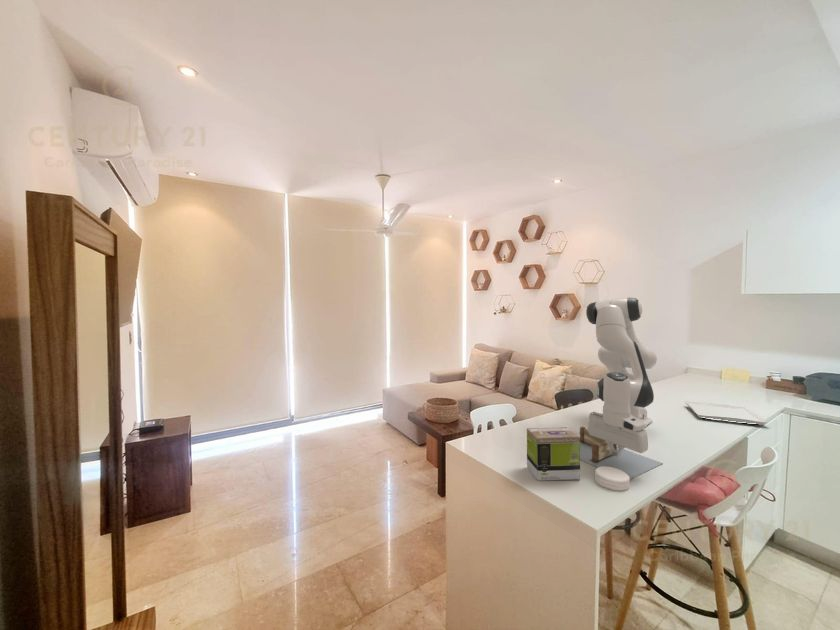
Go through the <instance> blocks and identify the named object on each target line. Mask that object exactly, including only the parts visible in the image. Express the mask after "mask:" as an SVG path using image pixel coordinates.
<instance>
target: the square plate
mask: <svg viewBox="0 0 840 630" xmlns="http://www.w3.org/2000/svg"><path fill="white" fill-rule="evenodd" d="M684 404H686V405H687V407H688V406H689V407H688V408H689V409H690V410H692V412H694V413H696V414H697V415H696V414H695V415H696V416H697V417H698V416H699V417H698V418H700V417H705V418H713V419H721V420H728V421H736V422H746V423H756V424H759V425H758V426H762V425H765V424H767V423H768V421H766V419H764V418H762V417H761V416H759V415H758V414H756V413H755V412H753V411H751V410H750V409H748V408H746V407H743V406H737V405H730V404H729V405H728V404H720V403H712V402H711V403H710V402H700V401H698V402H697V401H684ZM689 404H694V405H705V406H713V407H722V408H731V409H743V410H745V411H746V412H747V413H748V414H749V415H751V416H752V417H753V418H755V419H757V420H758V421H755V420H748V419H741V418H732V417H721V416H707V415H699V414H698V413H697V412H696V411H695V410H694V408H693V407H692V406H690V405H689Z"/></svg>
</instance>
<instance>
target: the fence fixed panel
mask: <svg viewBox="0 0 840 630" xmlns="http://www.w3.org/2000/svg"><path fill="white" fill-rule="evenodd" d="M579 437H580V442H581V443H587V444H590V445H592V444H596V445H597V444H600V443H602V442H605V440H602V439H599V438H596V437H594V436H591V435H589V433H588V428H587V427H584V426H580V427H579ZM613 446H614V448H615V449H616V450H617V445H616V444H613Z"/></svg>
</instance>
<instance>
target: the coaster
mask: <svg viewBox="0 0 840 630" xmlns="http://www.w3.org/2000/svg"><path fill="white" fill-rule="evenodd" d="M594 480H595V482H596V483H597V484H598V485H600V486H602V487H603V488H605V489H608V490H612V491H617V492H618V491H619V492H622V491H623V492H624V491H627V490H629V488H630V486H631V485H630V484H631V482H630V480H631V479H630V478H629V476H628V475H627V474H626V473H625V472H623V471H621V470H619V469H616V468H613V467H598V468H597V467H595V470H594Z"/></svg>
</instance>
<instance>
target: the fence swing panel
mask: <svg viewBox="0 0 840 630" xmlns="http://www.w3.org/2000/svg"><path fill="white" fill-rule="evenodd" d="M609 455H612V454H610V448H609V446H608V444H607V441H605V442H602V443H600V444H597V445H596V444H592V462H594V463H598V461H599V460H601V459H603V458H605V457H607V456H609Z"/></svg>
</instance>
